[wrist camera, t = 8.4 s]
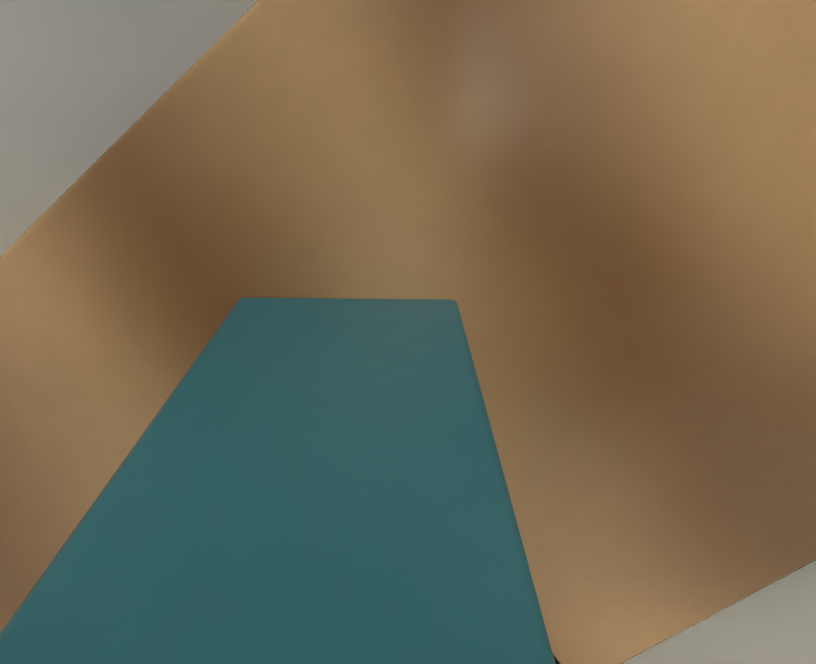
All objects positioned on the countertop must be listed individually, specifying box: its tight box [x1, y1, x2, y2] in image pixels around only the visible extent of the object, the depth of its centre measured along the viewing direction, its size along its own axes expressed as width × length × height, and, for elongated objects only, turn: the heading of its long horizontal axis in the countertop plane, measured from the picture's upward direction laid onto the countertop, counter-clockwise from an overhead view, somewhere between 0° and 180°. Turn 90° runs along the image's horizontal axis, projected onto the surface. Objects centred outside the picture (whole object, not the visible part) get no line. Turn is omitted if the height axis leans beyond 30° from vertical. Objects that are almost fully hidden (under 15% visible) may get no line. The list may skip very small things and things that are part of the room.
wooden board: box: [0, 0, 816, 664], centre depth 10 cm, size 20×12×1 cm, turn 129°
